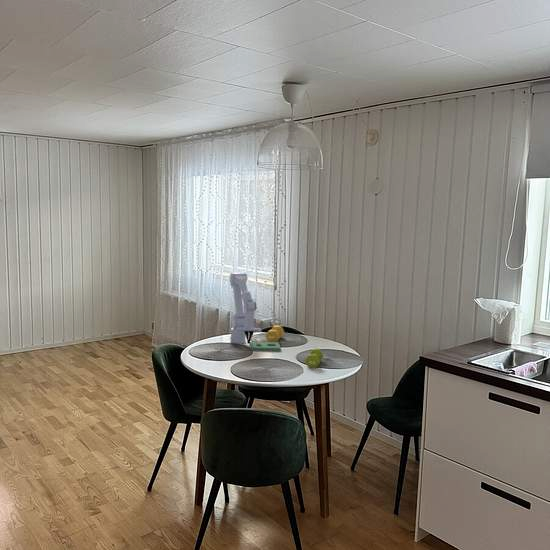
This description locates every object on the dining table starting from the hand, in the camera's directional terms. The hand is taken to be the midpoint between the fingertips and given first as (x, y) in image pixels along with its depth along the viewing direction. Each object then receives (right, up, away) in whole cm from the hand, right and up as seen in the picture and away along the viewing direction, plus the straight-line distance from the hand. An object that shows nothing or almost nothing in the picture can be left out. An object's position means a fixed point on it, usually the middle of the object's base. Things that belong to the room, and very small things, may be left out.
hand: (248, 343), depth 309 cm
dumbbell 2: (+16, -1, +23) cm, 28 cm away
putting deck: (+10, -3, +1) cm, 10 cm away
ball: (+6, +1, +1) cm, 6 cm away
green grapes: (+37, -8, -29) cm, 48 cm away
